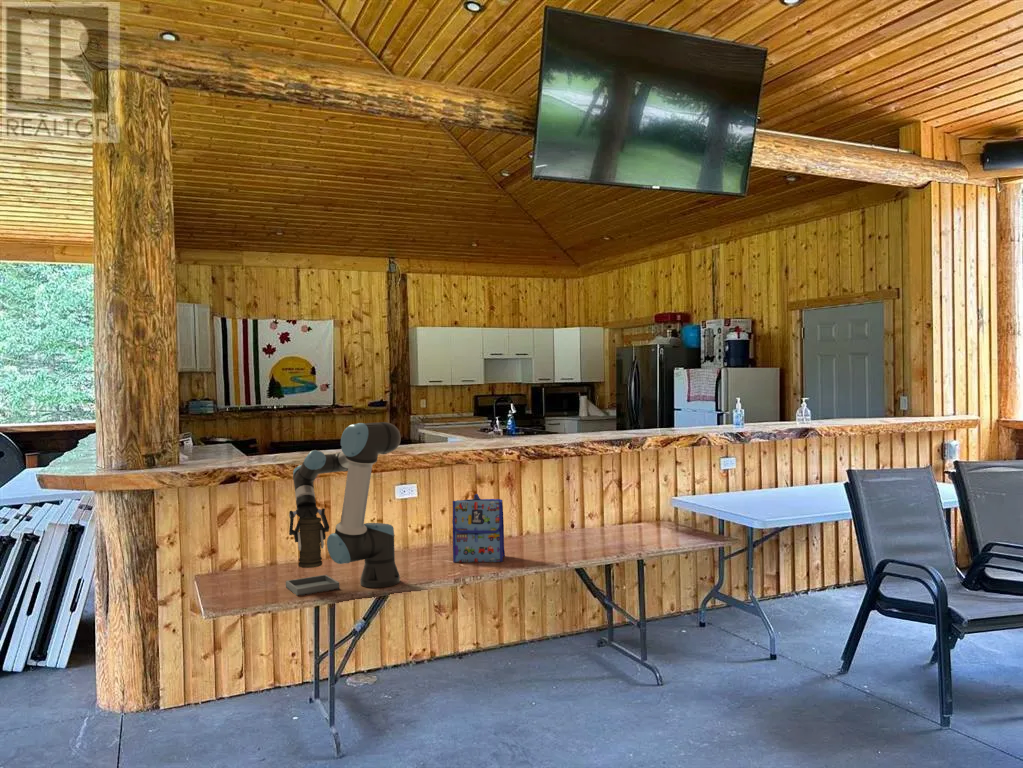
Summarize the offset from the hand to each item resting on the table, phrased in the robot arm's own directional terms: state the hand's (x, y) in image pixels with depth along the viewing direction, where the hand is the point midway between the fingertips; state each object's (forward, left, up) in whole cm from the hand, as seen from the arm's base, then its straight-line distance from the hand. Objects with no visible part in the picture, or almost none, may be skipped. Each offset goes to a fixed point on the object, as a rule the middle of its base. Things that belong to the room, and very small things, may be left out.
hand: (311, 547), depth 285 cm
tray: (-1, -3, -16) cm, 16 cm away
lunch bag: (-76, -6, -16) cm, 78 cm away
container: (0, -3, -8) cm, 8 cm away
